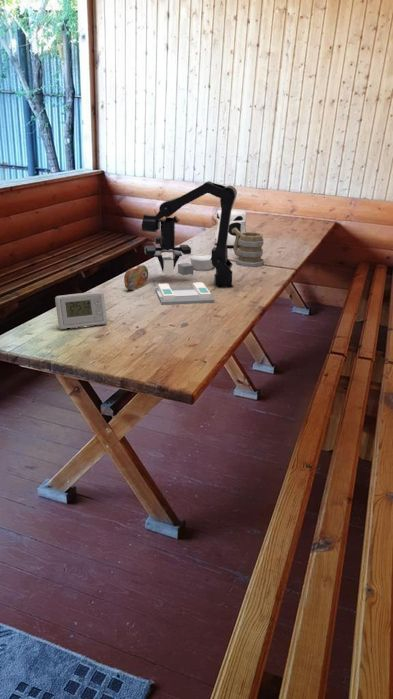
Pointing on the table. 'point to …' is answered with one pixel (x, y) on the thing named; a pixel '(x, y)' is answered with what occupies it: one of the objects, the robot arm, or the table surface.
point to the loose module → (168, 266)
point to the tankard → (248, 248)
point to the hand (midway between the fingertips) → (167, 270)
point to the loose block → (185, 268)
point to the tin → (136, 277)
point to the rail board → (183, 294)
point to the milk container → (232, 225)
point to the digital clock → (81, 310)
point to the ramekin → (201, 262)
